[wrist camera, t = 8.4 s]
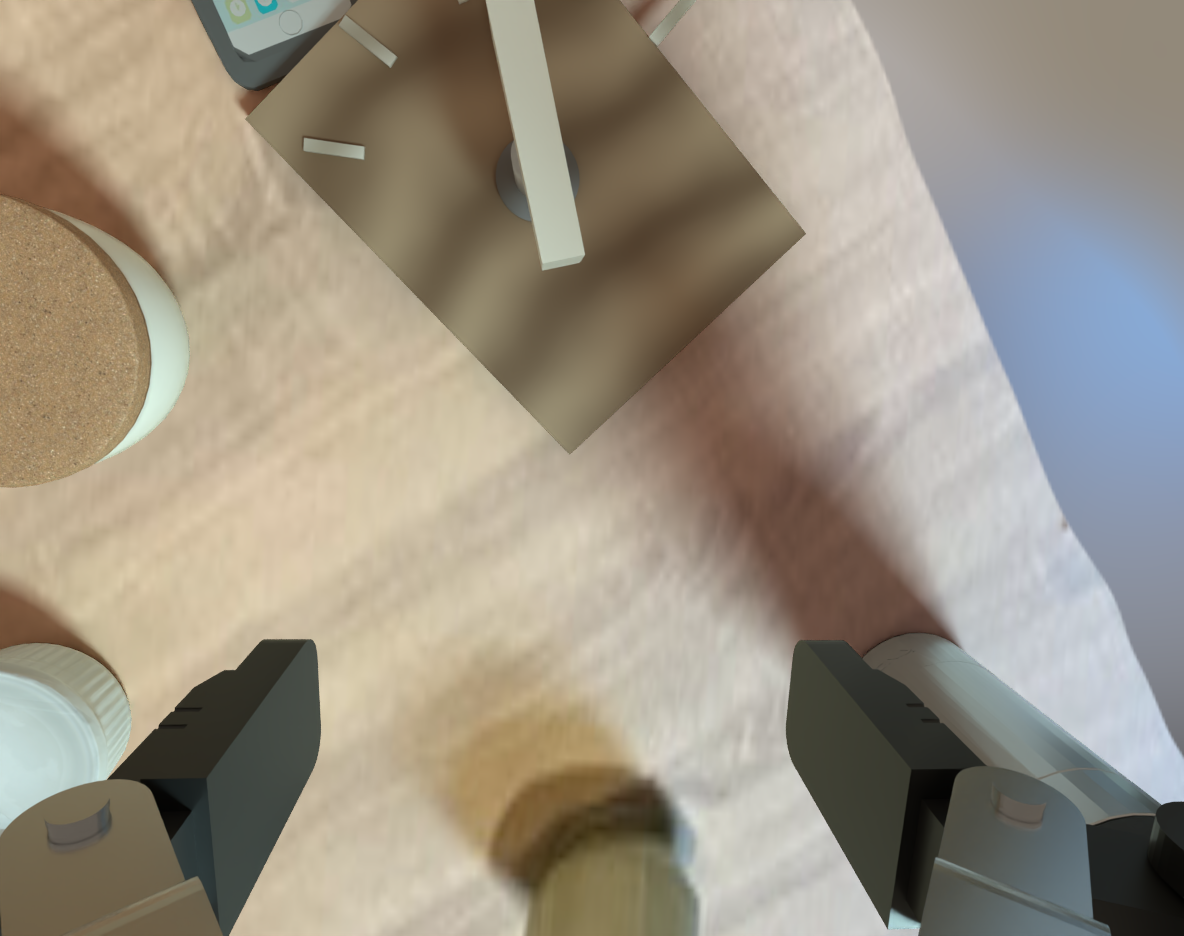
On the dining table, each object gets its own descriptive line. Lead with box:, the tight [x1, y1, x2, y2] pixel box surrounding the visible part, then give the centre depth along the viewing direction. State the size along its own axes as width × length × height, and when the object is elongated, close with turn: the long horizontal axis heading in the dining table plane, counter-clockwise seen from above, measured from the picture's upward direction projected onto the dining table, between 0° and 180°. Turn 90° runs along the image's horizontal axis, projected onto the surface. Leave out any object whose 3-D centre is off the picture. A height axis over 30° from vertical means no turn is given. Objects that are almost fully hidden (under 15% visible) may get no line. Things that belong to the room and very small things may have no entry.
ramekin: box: [0, 643, 132, 836], centre depth 40 cm, size 11×11×5 cm
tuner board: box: [246, 0, 806, 454], centre depth 37 cm, size 24×21×2 cm
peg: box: [486, 0, 585, 271], centre depth 31 cm, size 16×2×9 cm, turn 12°
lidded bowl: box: [0, 194, 190, 488], centre depth 33 cm, size 13×13×11 cm
